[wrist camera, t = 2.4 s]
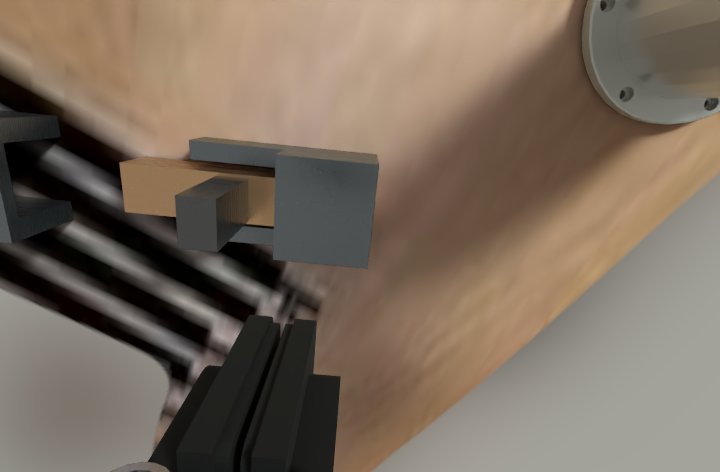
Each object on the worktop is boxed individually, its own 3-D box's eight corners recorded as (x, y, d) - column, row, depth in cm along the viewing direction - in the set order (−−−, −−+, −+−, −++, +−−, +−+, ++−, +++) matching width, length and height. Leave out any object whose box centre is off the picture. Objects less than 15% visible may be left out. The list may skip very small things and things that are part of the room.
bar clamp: (377, 148, 26) (380, 158, 21) (366, 247, 29) (366, 276, 24) (-22, 108, 26) (-114, 108, 21) (1, 212, 28) (-76, 235, 23)
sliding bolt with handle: (373, 179, 27) (378, 211, 19) (369, 222, 28) (371, 270, 20) (146, 156, 26) (49, 178, 18) (149, 201, 27) (60, 240, 19)
